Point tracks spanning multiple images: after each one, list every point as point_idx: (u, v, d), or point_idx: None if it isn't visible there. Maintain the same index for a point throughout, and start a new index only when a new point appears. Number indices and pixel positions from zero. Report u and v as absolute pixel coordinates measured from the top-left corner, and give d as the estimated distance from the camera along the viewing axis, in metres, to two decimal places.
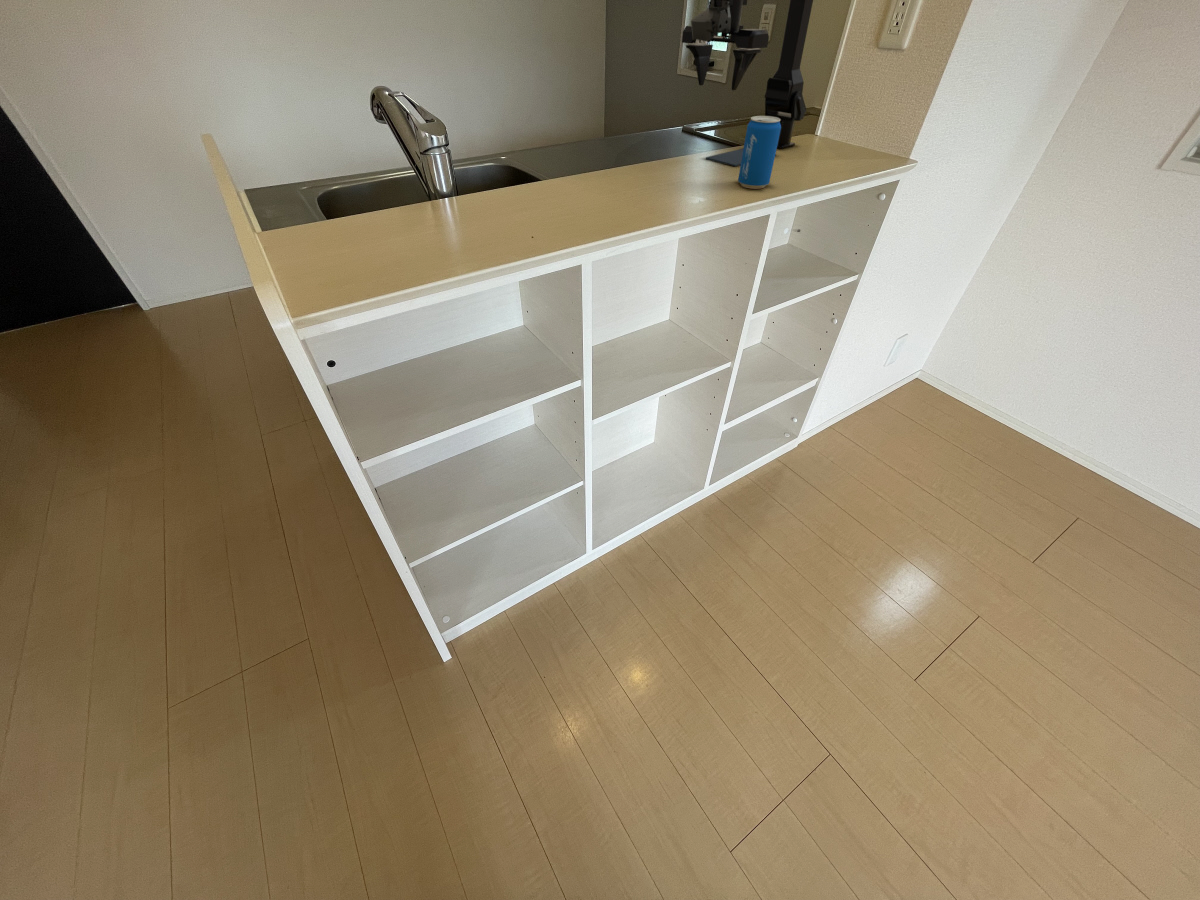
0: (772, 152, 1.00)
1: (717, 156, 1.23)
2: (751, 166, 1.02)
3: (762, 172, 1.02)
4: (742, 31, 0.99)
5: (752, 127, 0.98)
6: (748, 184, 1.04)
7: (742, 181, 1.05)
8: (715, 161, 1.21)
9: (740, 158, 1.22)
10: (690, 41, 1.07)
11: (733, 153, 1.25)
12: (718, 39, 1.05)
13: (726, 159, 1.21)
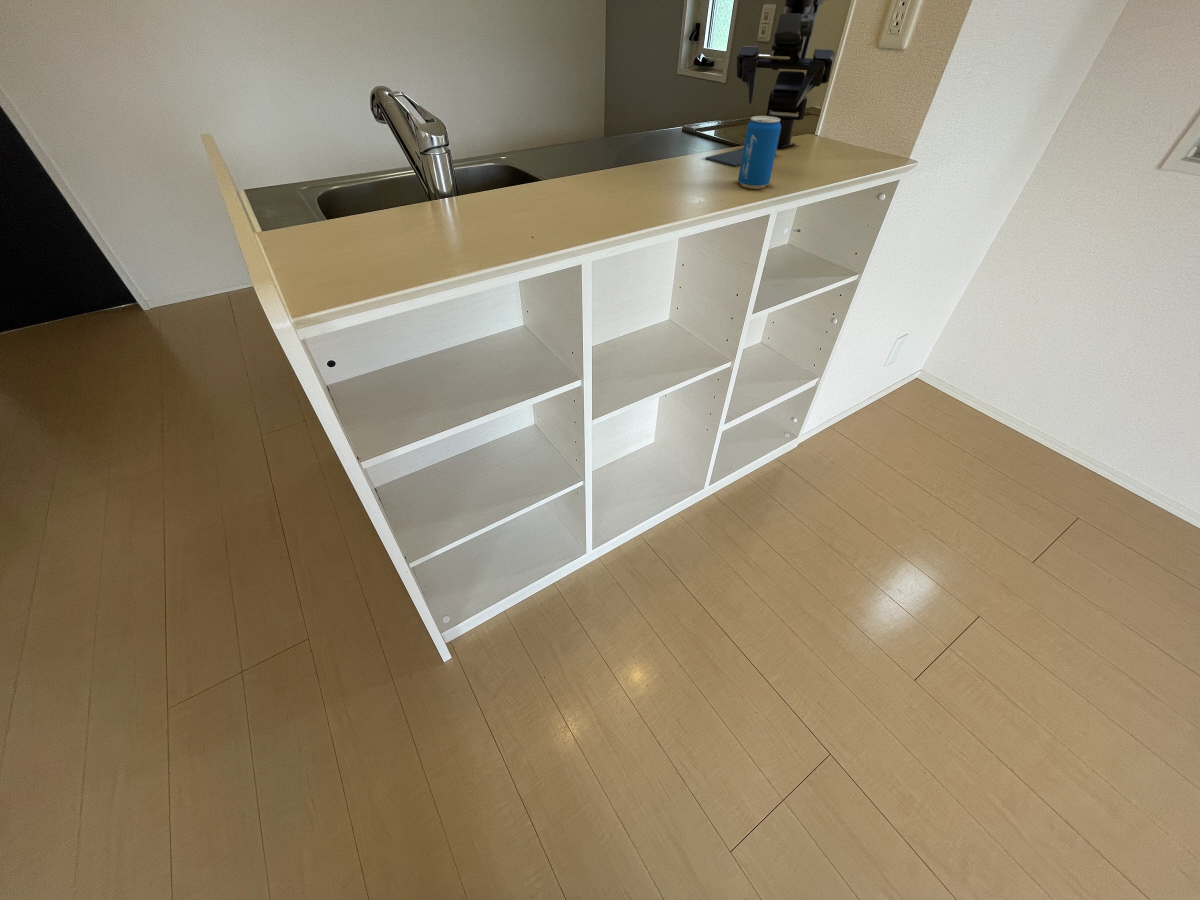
0: (772, 152, 1.00)
1: (717, 156, 1.23)
2: (751, 166, 1.02)
3: (762, 172, 1.02)
4: (820, 49, 0.99)
5: (752, 127, 0.98)
6: (748, 184, 1.04)
7: (742, 181, 1.05)
8: (715, 161, 1.21)
9: (740, 158, 1.22)
10: (752, 54, 1.02)
11: (733, 153, 1.25)
12: (778, 63, 1.03)
13: (726, 159, 1.21)
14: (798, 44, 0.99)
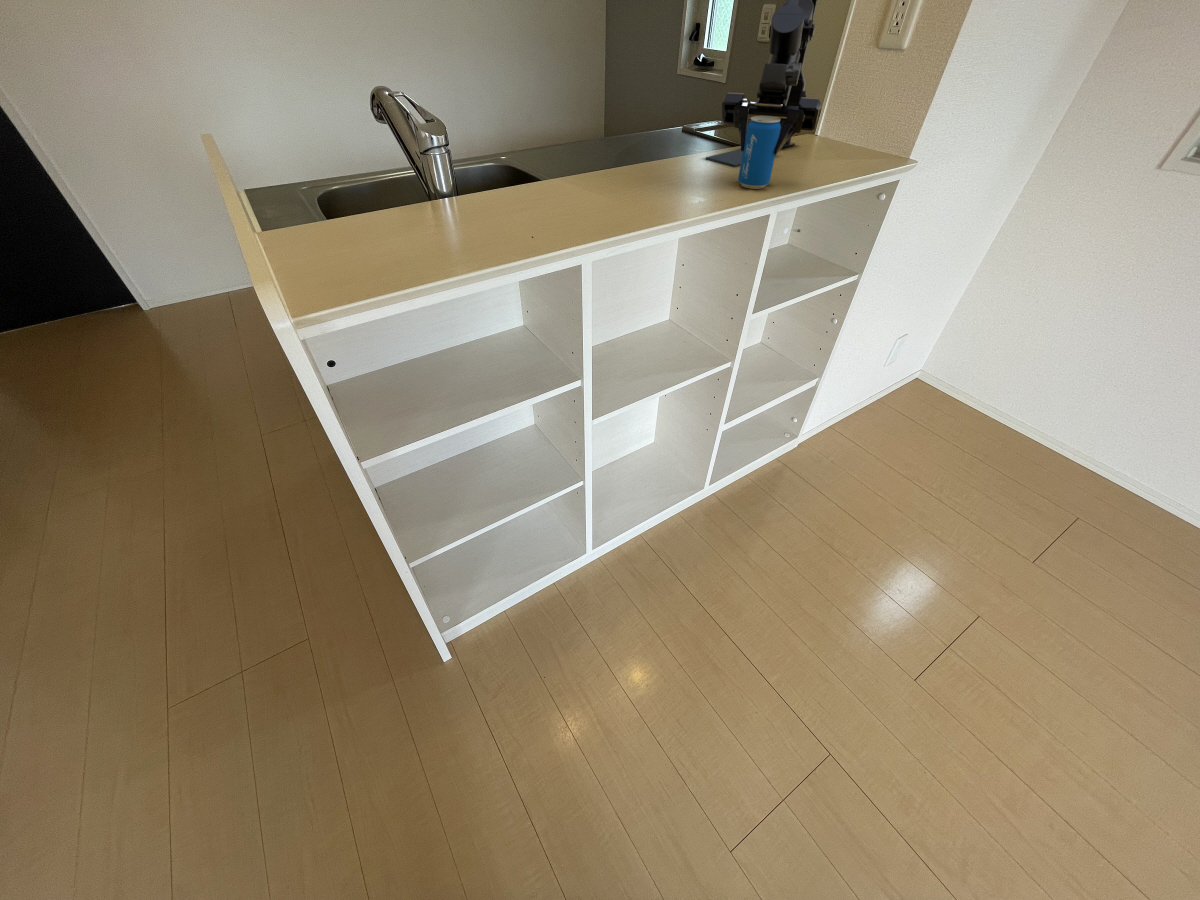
0: (772, 152, 1.00)
1: (717, 156, 1.23)
2: (751, 166, 1.02)
3: (762, 172, 1.02)
4: (806, 97, 0.97)
5: (752, 127, 0.98)
6: (748, 184, 1.04)
7: (742, 181, 1.05)
8: (715, 161, 1.21)
9: (740, 158, 1.22)
10: (737, 101, 1.00)
11: (733, 153, 1.25)
12: (764, 110, 1.01)
13: (726, 159, 1.21)
14: (783, 92, 0.98)
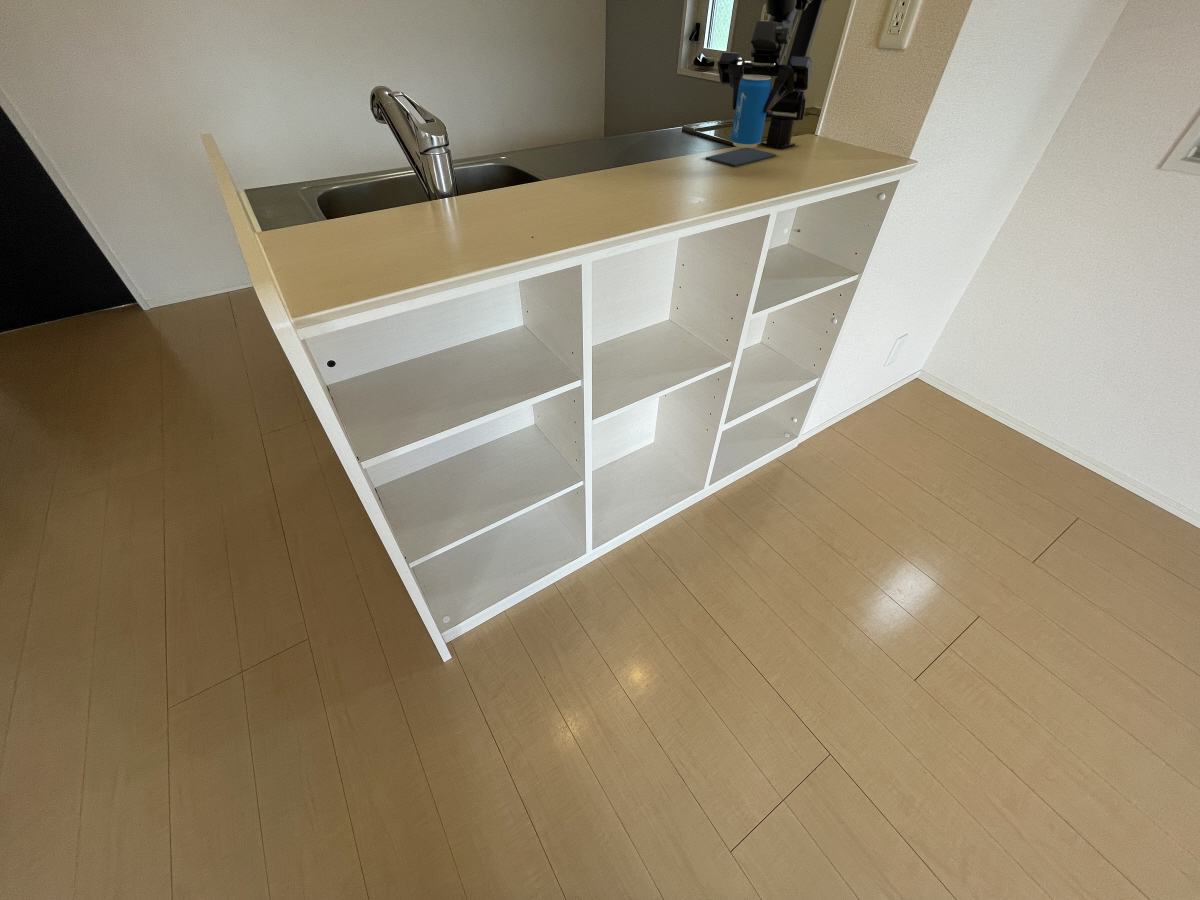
0: (762, 110, 1.03)
1: (717, 156, 1.23)
2: (740, 124, 1.05)
3: (751, 130, 1.05)
4: (797, 56, 0.99)
5: (742, 85, 1.01)
6: (738, 142, 1.07)
7: (733, 140, 1.08)
8: (715, 161, 1.21)
9: (740, 158, 1.22)
10: (731, 60, 1.03)
11: (733, 153, 1.25)
12: (758, 70, 1.04)
13: (726, 159, 1.21)
14: (776, 51, 1.00)
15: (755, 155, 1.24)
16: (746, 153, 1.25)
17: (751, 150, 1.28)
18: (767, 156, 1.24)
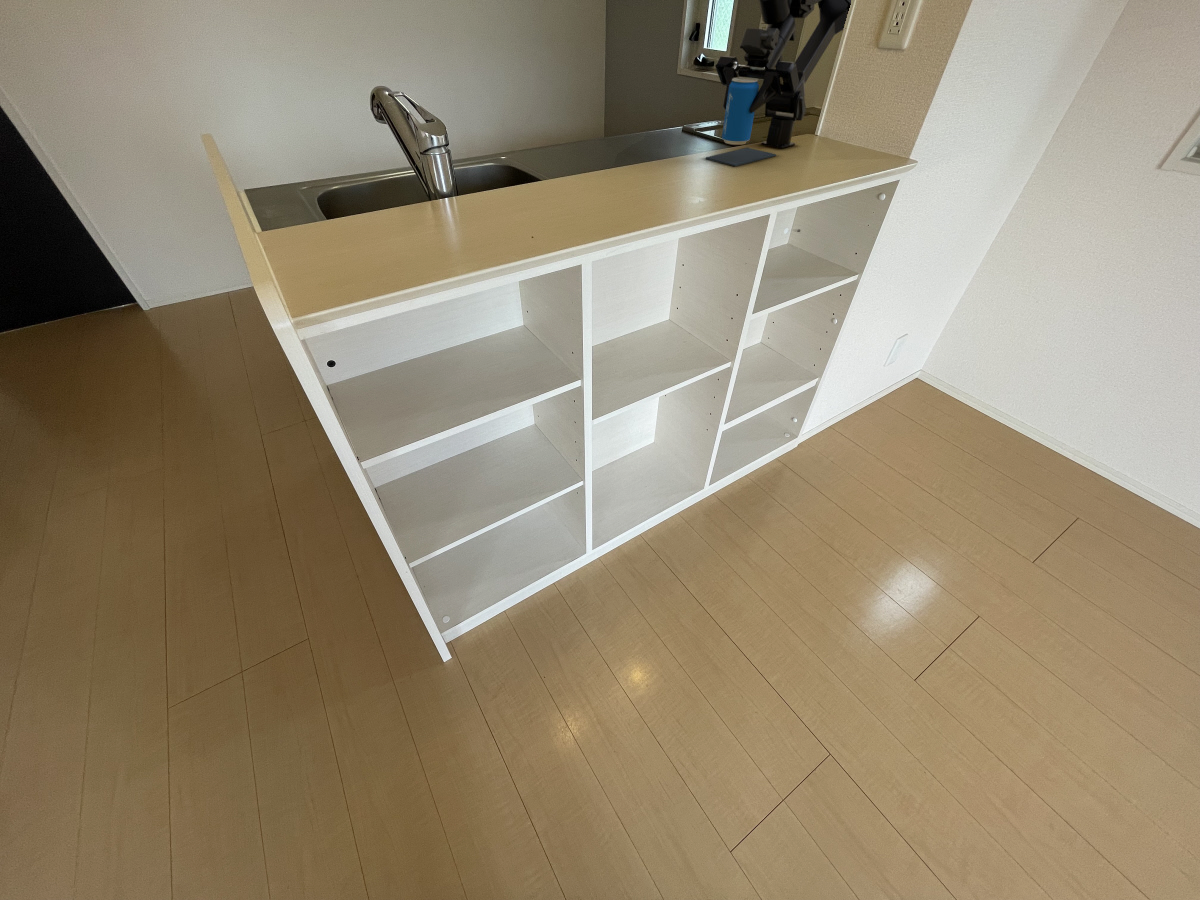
0: (747, 110, 1.12)
1: (717, 156, 1.23)
2: (728, 122, 1.14)
3: (737, 128, 1.14)
4: (783, 61, 1.07)
5: (730, 86, 1.11)
6: (726, 139, 1.16)
7: (723, 137, 1.17)
8: (715, 161, 1.21)
9: (740, 158, 1.22)
10: (726, 63, 1.13)
11: (733, 153, 1.25)
12: (751, 73, 1.13)
13: (726, 159, 1.21)
14: (765, 56, 1.08)
15: (755, 155, 1.24)
16: (746, 153, 1.25)
17: (751, 150, 1.28)
18: (767, 156, 1.24)
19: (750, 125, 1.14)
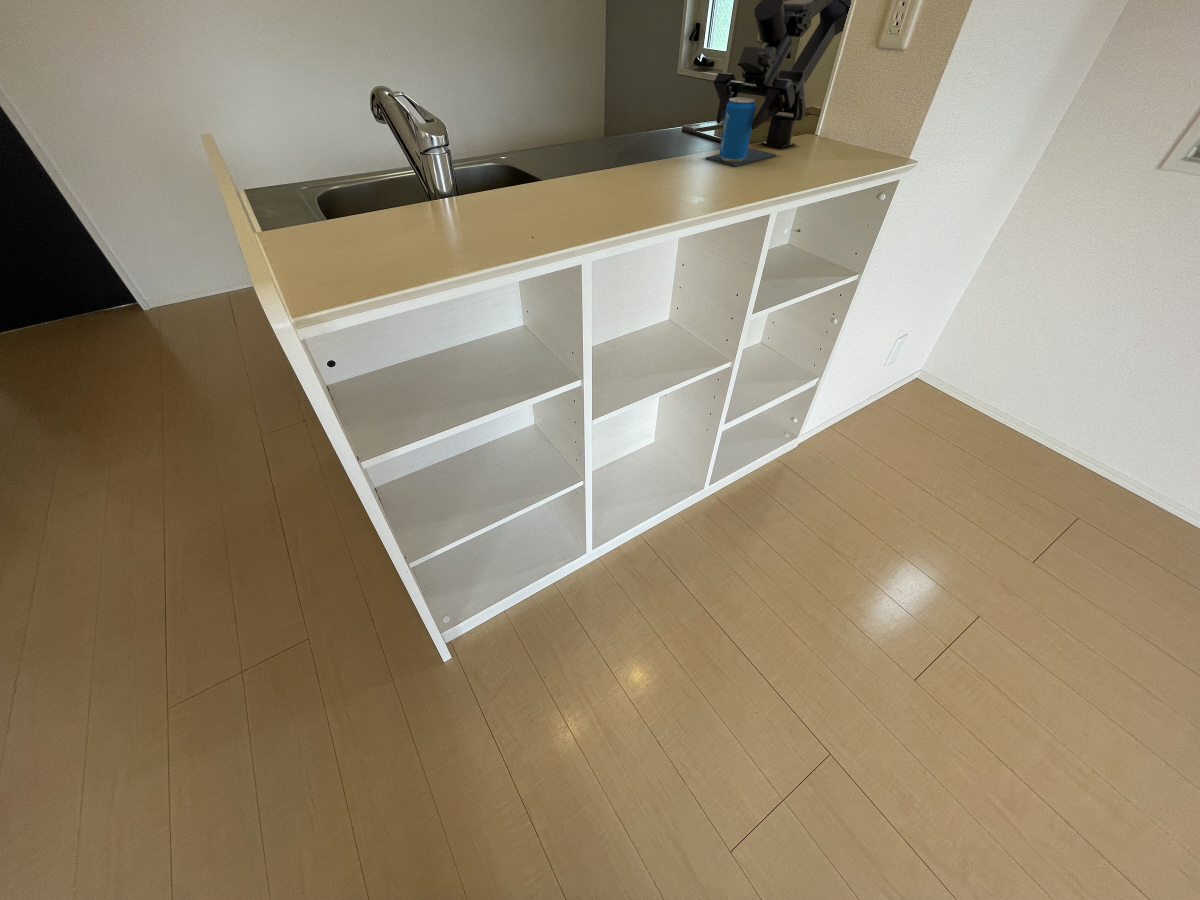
0: (744, 129, 1.14)
1: (717, 156, 1.23)
2: (725, 140, 1.17)
3: (734, 146, 1.16)
4: (780, 78, 1.09)
5: (727, 106, 1.13)
6: (723, 157, 1.19)
7: (720, 154, 1.20)
8: (715, 161, 1.21)
9: None
10: (724, 80, 1.15)
11: None
12: (748, 89, 1.15)
13: None
14: (762, 73, 1.11)
15: (755, 155, 1.24)
16: None
17: (751, 150, 1.28)
18: (767, 156, 1.24)
19: (747, 143, 1.17)
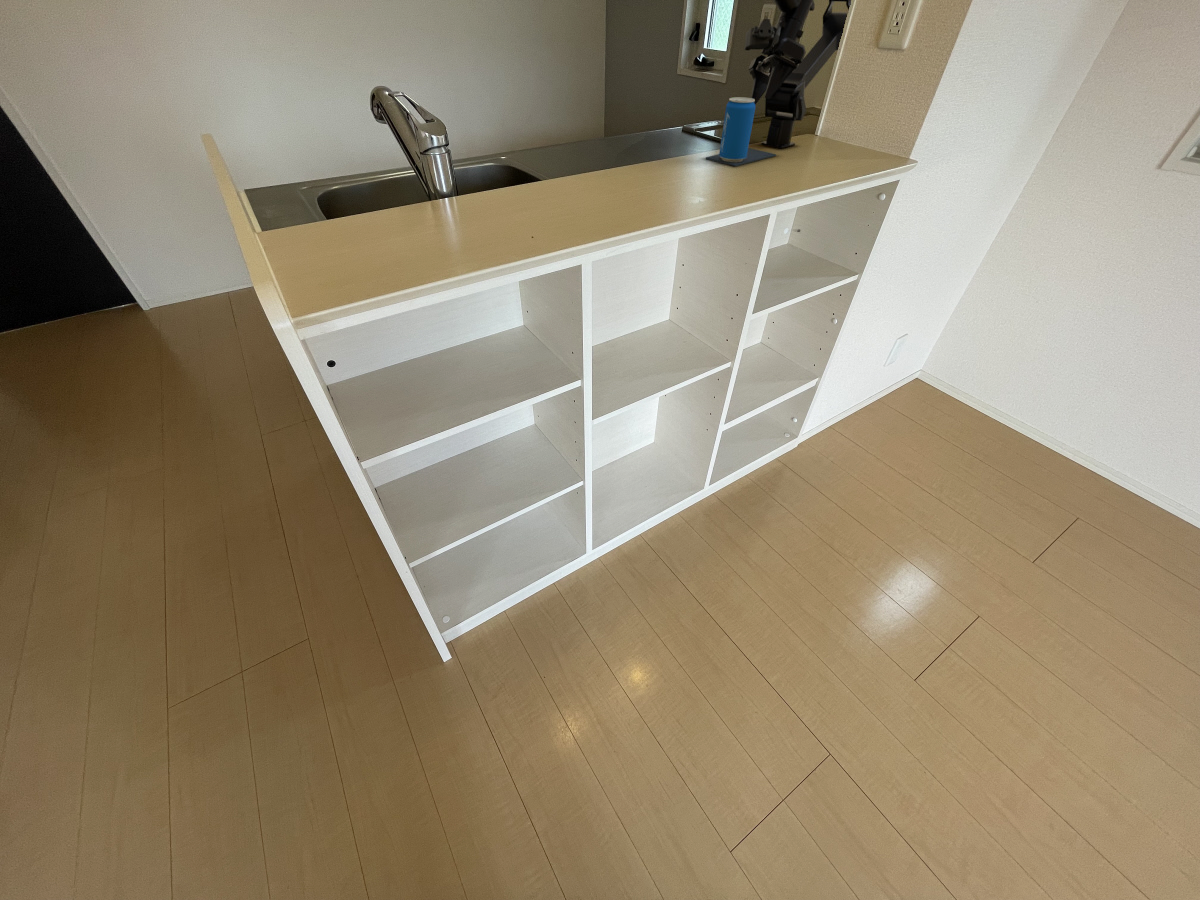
0: (744, 129, 1.14)
1: (717, 156, 1.23)
2: (725, 140, 1.17)
3: (734, 146, 1.16)
4: None
5: (727, 106, 1.13)
6: (723, 157, 1.19)
7: (720, 154, 1.20)
8: (715, 161, 1.21)
9: None
10: (752, 65, 1.22)
11: None
12: None
13: None
14: (770, 44, 1.13)
15: (755, 155, 1.24)
16: None
17: (751, 150, 1.28)
18: (767, 156, 1.24)
19: (747, 143, 1.17)
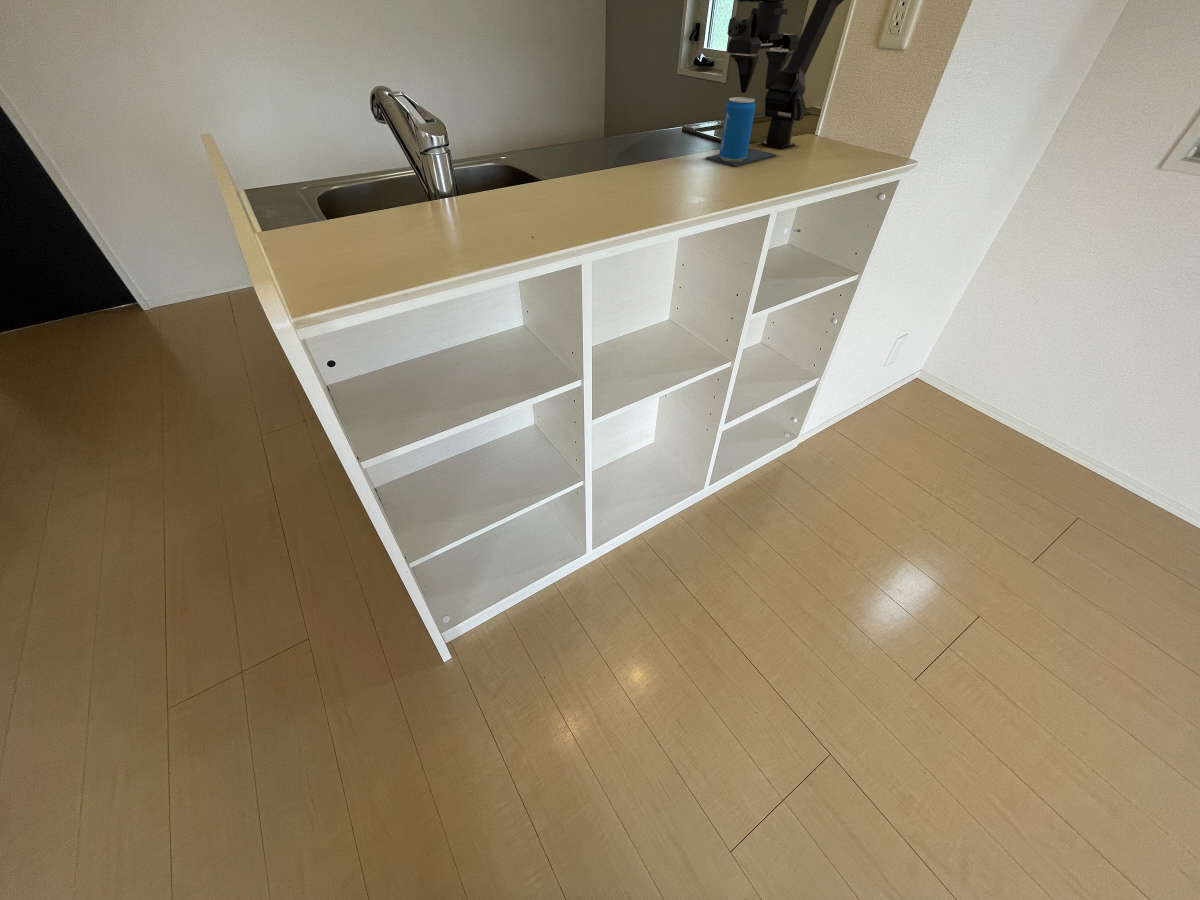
0: (744, 129, 1.14)
1: (717, 156, 1.23)
2: (725, 140, 1.17)
3: (734, 146, 1.16)
4: None
5: (727, 106, 1.13)
6: (723, 157, 1.19)
7: (720, 154, 1.20)
8: (715, 161, 1.21)
9: None
10: None
11: None
12: None
13: None
14: None
15: (755, 155, 1.24)
16: None
17: (751, 150, 1.28)
18: (767, 156, 1.24)
19: (747, 144, 1.17)
